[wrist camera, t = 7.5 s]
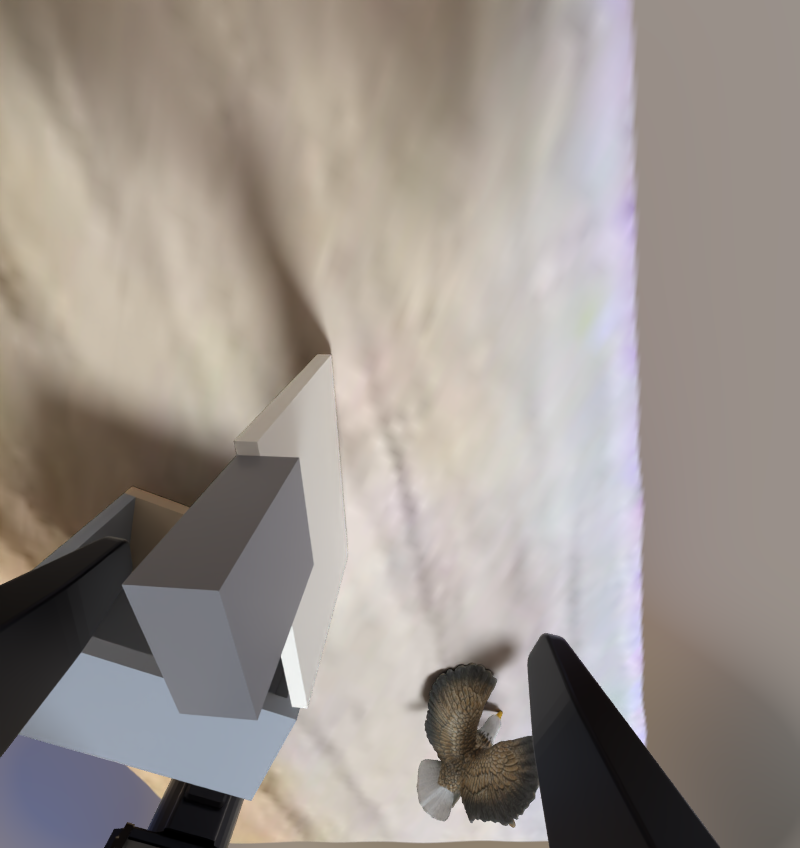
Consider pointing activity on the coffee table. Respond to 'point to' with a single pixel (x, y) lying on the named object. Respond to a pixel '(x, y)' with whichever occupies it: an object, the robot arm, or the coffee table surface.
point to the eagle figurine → (473, 754)
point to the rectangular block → (253, 562)
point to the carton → (152, 685)
